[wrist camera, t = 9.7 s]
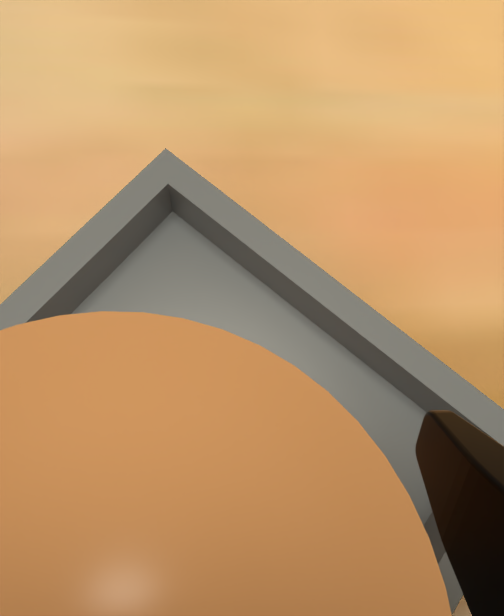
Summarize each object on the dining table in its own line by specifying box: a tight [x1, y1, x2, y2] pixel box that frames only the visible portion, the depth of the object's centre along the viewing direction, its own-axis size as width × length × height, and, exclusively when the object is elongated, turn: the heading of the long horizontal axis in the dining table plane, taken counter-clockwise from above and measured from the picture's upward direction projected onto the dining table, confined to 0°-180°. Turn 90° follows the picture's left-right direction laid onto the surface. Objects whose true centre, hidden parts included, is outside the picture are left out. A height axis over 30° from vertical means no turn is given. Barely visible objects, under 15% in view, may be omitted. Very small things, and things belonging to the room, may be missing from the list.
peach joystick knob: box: [0, 311, 452, 616], centre depth 9 cm, size 7×7×13 cm
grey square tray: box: [0, 149, 504, 614], centre depth 15 cm, size 16×16×3 cm
